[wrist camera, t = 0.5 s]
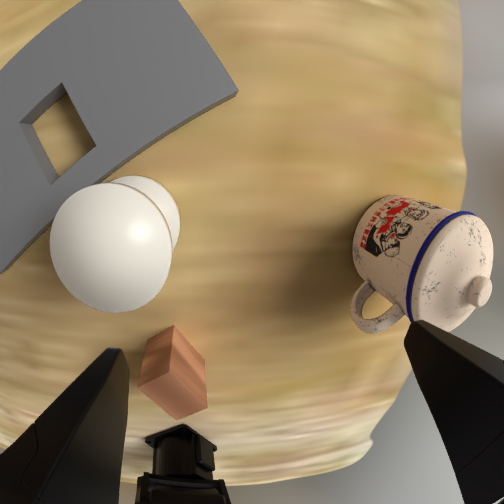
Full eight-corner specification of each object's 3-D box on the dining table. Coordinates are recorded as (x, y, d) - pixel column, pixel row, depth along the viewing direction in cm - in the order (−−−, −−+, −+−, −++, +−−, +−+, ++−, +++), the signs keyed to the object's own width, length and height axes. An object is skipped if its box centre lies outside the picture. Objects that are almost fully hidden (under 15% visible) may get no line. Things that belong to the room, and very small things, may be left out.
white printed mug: (402, 171, 22) (509, 193, 11) (435, 246, 25) (520, 290, 15) (301, 258, 23) (377, 340, 12) (351, 324, 26) (418, 404, 15)
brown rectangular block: (178, 372, 25) (176, 420, 19) (147, 340, 23) (137, 387, 18) (204, 359, 25) (207, 407, 19) (174, 325, 23) (169, 372, 18)
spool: (126, 283, 21) (101, 331, 15) (75, 210, 19) (29, 234, 12) (198, 236, 21) (197, 272, 15) (147, 156, 19) (121, 155, 12)
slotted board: (9, 267, 19) (-2, 275, 17) (-47, 149, 14) (-59, 151, 12) (235, 96, 18) (238, 90, 17) (151, -25, 13) (148, -37, 12)
